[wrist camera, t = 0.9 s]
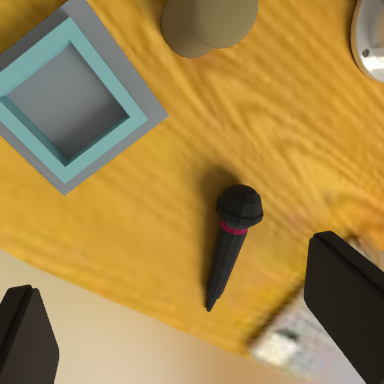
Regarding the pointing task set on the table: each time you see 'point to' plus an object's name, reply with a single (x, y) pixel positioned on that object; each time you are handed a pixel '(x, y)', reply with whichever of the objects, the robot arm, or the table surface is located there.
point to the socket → (72, 97)
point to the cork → (206, 24)
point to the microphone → (231, 234)
